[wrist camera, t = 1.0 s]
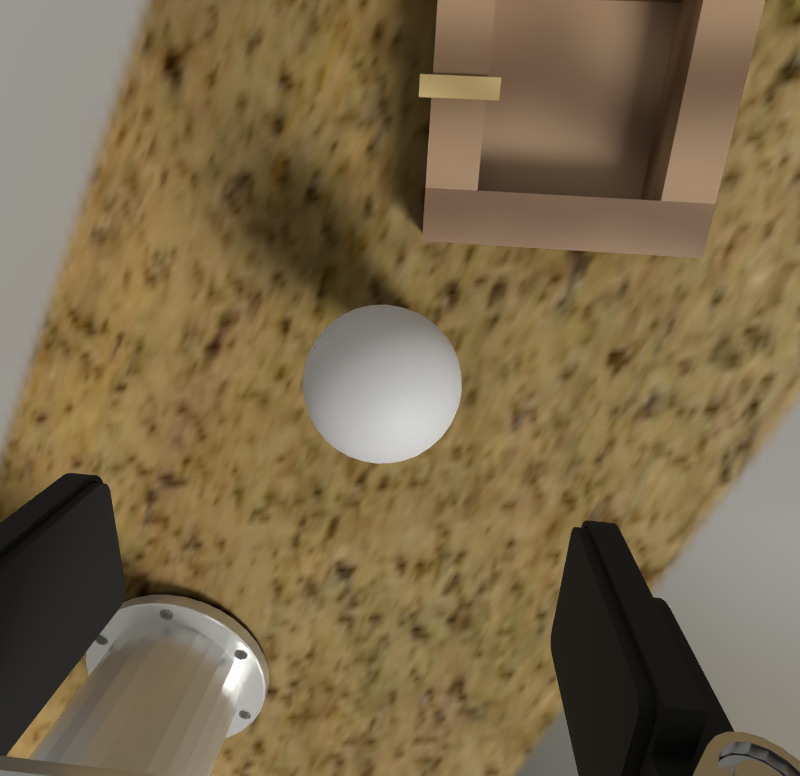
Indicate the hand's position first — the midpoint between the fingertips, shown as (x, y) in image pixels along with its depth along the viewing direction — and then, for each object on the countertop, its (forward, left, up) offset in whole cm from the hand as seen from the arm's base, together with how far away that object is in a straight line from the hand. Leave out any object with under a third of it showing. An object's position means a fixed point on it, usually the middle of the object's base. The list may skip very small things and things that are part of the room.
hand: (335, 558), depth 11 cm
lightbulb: (0, 0, -19) cm, 19 cm away
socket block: (+11, -7, -19) cm, 23 cm away
